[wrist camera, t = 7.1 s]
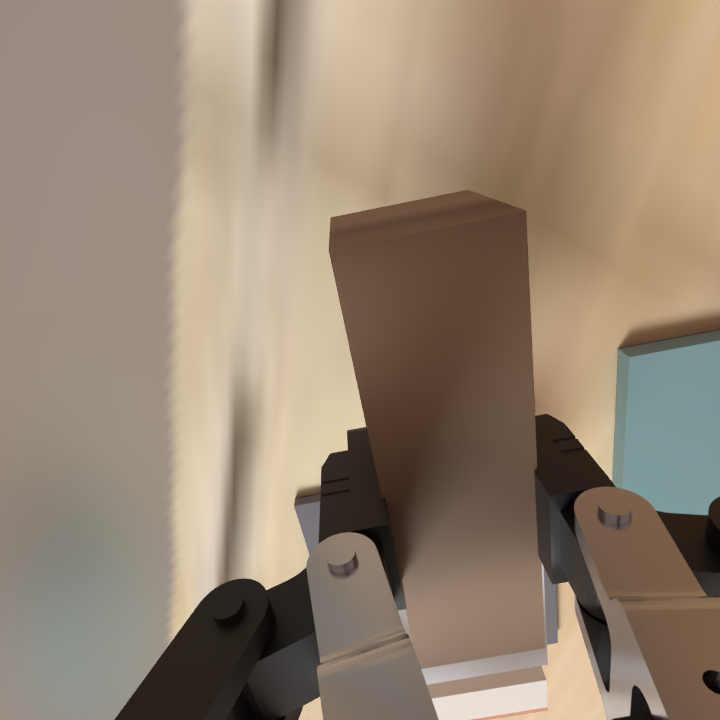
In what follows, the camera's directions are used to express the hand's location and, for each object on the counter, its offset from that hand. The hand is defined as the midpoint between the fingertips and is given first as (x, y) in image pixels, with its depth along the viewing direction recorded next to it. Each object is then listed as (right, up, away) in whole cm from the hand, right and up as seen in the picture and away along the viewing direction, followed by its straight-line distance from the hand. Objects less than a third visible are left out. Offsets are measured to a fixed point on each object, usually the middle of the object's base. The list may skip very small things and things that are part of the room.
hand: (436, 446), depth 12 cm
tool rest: (+16, -5, +15) cm, 22 cm away
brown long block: (0, -1, +1) cm, 2 cm away
